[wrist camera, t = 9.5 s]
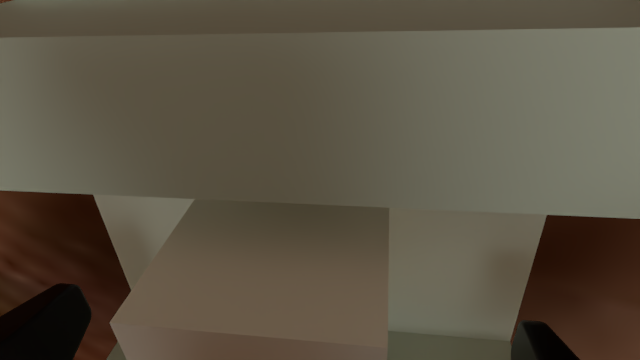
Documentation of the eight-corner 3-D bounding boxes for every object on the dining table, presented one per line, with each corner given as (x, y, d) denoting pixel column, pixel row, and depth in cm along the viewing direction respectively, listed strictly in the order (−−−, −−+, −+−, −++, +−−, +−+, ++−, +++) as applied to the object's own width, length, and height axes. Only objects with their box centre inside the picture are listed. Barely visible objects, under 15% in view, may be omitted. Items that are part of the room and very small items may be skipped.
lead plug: (389, 172, 9) (387, 426, 5) (384, 299, 11) (378, 560, 7) (217, 167, 10) (64, 387, 5) (242, 288, 12) (149, 521, 7)
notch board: (599, -78, 7) (801, -70, 4) (483, 372, 14) (515, 532, 11) (40, -51, 9) (-200, -24, 5) (177, 342, 16) (113, 471, 12)
